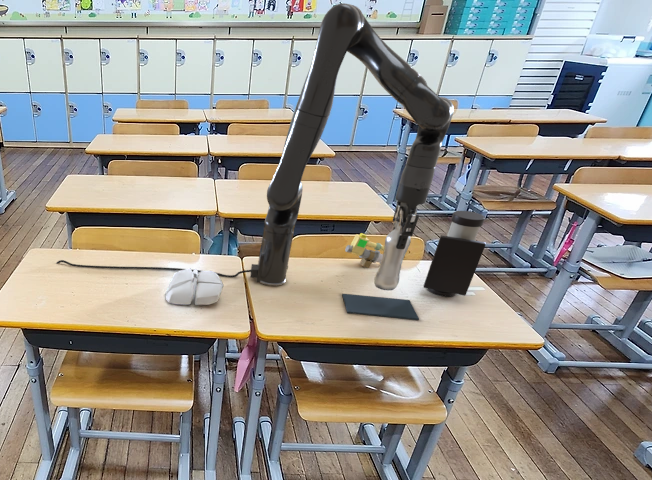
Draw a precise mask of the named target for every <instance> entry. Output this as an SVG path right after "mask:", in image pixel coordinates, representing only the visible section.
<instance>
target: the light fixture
mask: <svg viewBox="0 0 652 480" xmlns="http://www.w3.org/2000/svg"><path fill="white" fill-rule="evenodd" d="M485 220H486V216H485V215H483V214H481V213H478V212H474V211H470V210H456V211H453V213H452V215H451V219H450V221H451V223H450V226H449V230H448V232H447V235H442V234H441V235H440V236H439V240H438V242H437V245H436V248H435V251H434V254H433V257H432V260H431V263H430V265H429V268H428V272H427V274H426V277H425V280H424V282H423V283H424V284H423V288H424V289H427V290H428V291H429V292H430V293H431V294H434V295H435V296H440V297H445V298H447V297H448V298H451V297H454V296H456V295H458V296H459V295H460V296H463V297H465V296H466V295H467V294H468V290H469V288H470V286H471V283H472V281H473V278H474V275H475V273H476V270H477V268H478V266H479V263H480V260H481V258H482V255H483V253H484V251H485V248H486V245H487V244H486V242H485V241H480V240H476V239H477V236H478V234H479V231H480V228H481V227H482V226H483V225H484V223H485Z"/></svg>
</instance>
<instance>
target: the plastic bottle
mask: <svg viewBox="0 0 652 480" xmlns="http://www.w3.org/2000/svg"><path fill="white" fill-rule="evenodd" d="M399 221H400V220H397V221H396V224H395V226H393V228H394V227H395V229H394V230H393V229H392V230H391V231H390V232H388V234H387V235H386V237H385V240H384V245H383V246H384V251H383V253H382V254H383V258H382V262H381V264H380V263H379V267H378V270H377V272H376V274H375V275H374V279H373V284H374V287H376V288H377V289H378V290H381V291H394V290H395V289H396V288H397V287H398V285H399V283H400V274H401V269H402V264H403V261H404V258H405V256H406V253H407V251H408V249H409V248H410V246H411V243H412V242H411V241H412V240H411V239H412V238H411V236H408V239H407V242H406V246H405V248H404V249H397V248H396V244H397V241H398V238H399V235H400V234H399V233H400V227H399ZM404 224H405V223H404ZM406 231H408V228H407V229H406Z"/></svg>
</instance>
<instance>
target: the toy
mask: <svg viewBox="0 0 652 480" xmlns="http://www.w3.org/2000/svg"><path fill="white" fill-rule="evenodd" d="M384 246H385V245H384V244H383V245H382V244H381V243H380V242H373V241H370V239H369V238H368V237H367V234H365V233H362V232H361V233H359V234H357V233H356V234H355V235H354V238H353V239H352V241H351V243H350V244H348V245H346V246H345V250H344V251H345V252H346V253H349V254H352V255H355V256H358V258H360V259H361V260H360V261H359V264H360V265H361V266H362V267H365V268H367V269H370V267H371V266H372V264H376V263H379V265H380V264H381V262H382V258H383V253H381V252H384ZM368 247H369V248H371V249H367V248H368ZM372 249H374V250H375V251H374V250H372Z"/></svg>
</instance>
